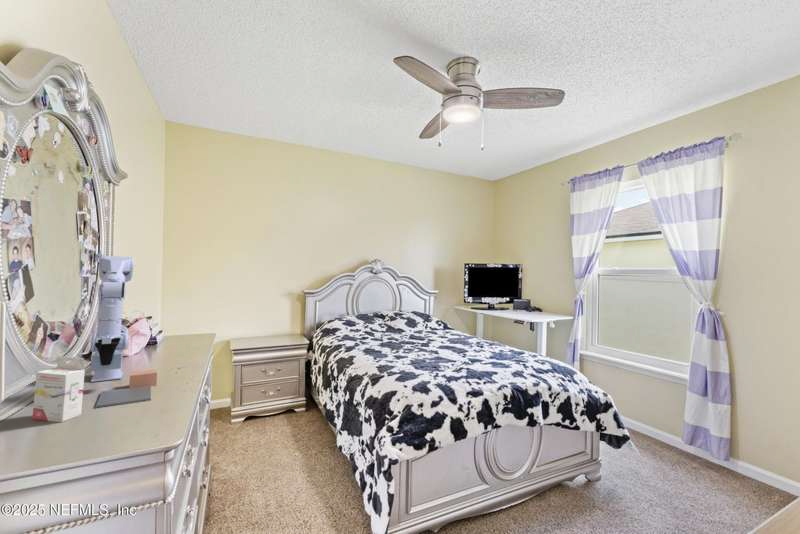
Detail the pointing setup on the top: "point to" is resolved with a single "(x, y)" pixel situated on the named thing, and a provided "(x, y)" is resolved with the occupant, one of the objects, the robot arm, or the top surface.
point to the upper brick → (143, 378)
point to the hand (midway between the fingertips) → (106, 363)
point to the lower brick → (114, 365)
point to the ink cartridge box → (59, 391)
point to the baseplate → (124, 396)
